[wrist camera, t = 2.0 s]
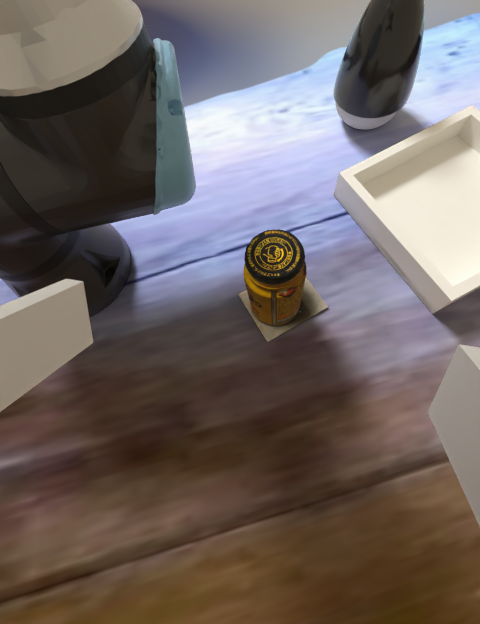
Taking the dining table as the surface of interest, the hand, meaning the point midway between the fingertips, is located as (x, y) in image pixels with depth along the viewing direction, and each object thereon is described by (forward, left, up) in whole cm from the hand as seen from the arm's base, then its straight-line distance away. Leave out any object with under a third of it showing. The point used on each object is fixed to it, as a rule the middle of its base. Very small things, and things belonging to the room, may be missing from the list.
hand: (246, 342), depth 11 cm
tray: (-9, +31, -24) cm, 40 cm away
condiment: (-9, +7, -25) cm, 27 cm away
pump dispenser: (-29, +33, -24) cm, 50 cm away
